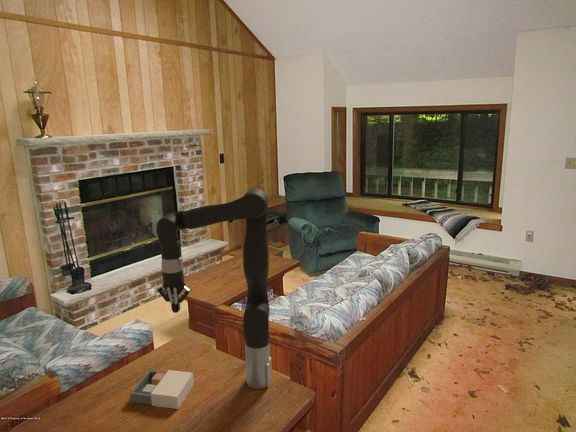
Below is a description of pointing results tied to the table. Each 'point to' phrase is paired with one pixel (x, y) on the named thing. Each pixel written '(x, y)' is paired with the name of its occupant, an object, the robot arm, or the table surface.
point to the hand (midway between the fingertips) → (176, 311)
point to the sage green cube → (148, 389)
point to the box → (137, 393)
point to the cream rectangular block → (172, 389)
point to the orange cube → (157, 378)
